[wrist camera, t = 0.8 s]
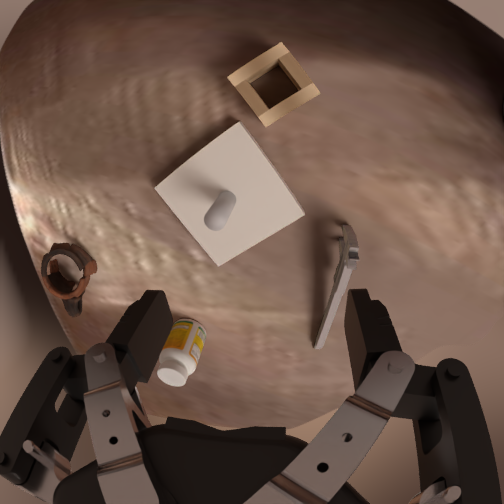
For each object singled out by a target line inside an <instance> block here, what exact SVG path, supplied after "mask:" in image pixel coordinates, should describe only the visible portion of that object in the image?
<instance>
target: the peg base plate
mask: <svg viewBox="0 0 504 504" xmlns="http://www.w3.org/2000/svg"><path fill="white" fill-rule="evenodd" d="M155 190H156V191H157V192H158V193H159V195H160V196H161V197H162V198H163V200H164V201H165V202H166V203H167V205H168V206H169V207H170V208H171V210H172V211H173V212H174V213H175V215H176V216H177V217H178V218H179V220H180V221H181V222H182V223H183V225H184V226H185V227H186V228H187V229H188V231H189V232H190V233H191V234H192V236H193V237H194V238H195V239H196V240H197V242H198V243H199V244H200V245H201V246H202V248H203V249H204V250H205V251H206V252H207V254H208V255H209V256H210V257H211V258H212V260H213V261H214V262H215V263H216V264H217V266H218V267H219V266H220V265H222V264H224V263H225V262H227V261H229V260H230V259H232V258H234V257H235V256H237V255H239V254H240V253H242V252H244V251H245V250H247V249H249V248H250V247H252V246H254V245H255V244H257V243H259V242H260V241H262V240H264V239H265V238H267V237H269V236H270V235H272V234H274V233H275V232H277V231H279V230H280V229H282V228H284V227H286V226H287V225H289V224H291V223H292V222H294V221H296V220H297V219H299V218H301V217H302V216H304V215H305V212H304V209H303V208H302V206H301V205H300V203H299V202H298V200H297V199H296V197H295V196H294V194H293V193H292V191H291V190H290V188H289V187H288V185H287V184H286V183H285V181H284V180H283V178H282V177H281V175H280V174H279V172H278V171H277V170H276V168H275V167H274V165H273V164H272V163H271V161H270V160H269V158H268V157H267V156H266V154H265V153H264V151H263V150H262V149H261V147H260V146H259V145H258V143H257V142H256V140H255V139H254V138H253V136H252V135H251V134H250V132H249V131H248V130H247V128H246V127H245V126H244V124H243V123H242V122H241V121H239V122H238V123H236V124H235V125H233V126H232V127H231V128H229V129H228V130H226V131H225V132H224V133H222V134H221V135H220V136H218V137H217V138H216V139H214V140H213V141H212V142H210V143H209V144H208V145H206V146H205V147H204V148H202V149H201V150H200V151H199V152H197V153H196V154H195V155H193V156H192V157H191V158H190V159H188V160H187V161H186V162H185V163H184V164H182V165H181V166H180V167H179V168H177V169H176V170H175V171H174V172H173V173H171V174H170V175H169V176H168V177H167V178H165V179H164V180H163V181H162V182H161V183H160V184H158V185H157V186H156V187H155Z"/></svg>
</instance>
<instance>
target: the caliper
mask: <svg viewBox="0 0 504 504" xmlns="http://www.w3.org/2000/svg"><path fill="white" fill-rule="evenodd" d="M342 232H343V237H344V238H343V237H339V252H340V262H339V264H338V266H337V268H336V273H335V275H334V285H333V289H332V292H331V295H330V298H329V302H328V305H327V308H326V311H325V314H324V317H323V320H322V323H321V326H320V329H319V331H318V334H317V338H316V342H315V346H314V349H321V348H322V347H323V345H324V342H325V340H326V337H327V335H328V332H329V330H330V327H331V324H332V322H333V319H334V317H335V314H336V311H337V308H338V306H339V303H340V300H341V297H342V294H343V295H344V292H345V290H346V287H347V284H348V281H349V278H350V275H351V272H352V269H356V261H359V257H358V249H359V246H358V242H357V238H356V234H355V233H354V231H353V229H352V227H351V225H342Z"/></svg>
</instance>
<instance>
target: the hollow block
mask: <svg viewBox="0 0 504 504" xmlns="http://www.w3.org/2000/svg"><path fill="white" fill-rule="evenodd" d="M278 65H279V66H280V67H281V68H282V70H283V71H284V72H285V74H286V75H287V76H288V77H289V79H290V80H291V81H292V83H293V84H294V85H295V87H296V88H297V89H298V92H296V93H295V94H293V95H292V96H290V97H288V98H287V99H285V100H283V101H282V102H280V103H279V104H277V105H276V106H274V107H272V108H271V109H269V107H268V106H267V105H266V103H265V102H264V101H263V99H262V98H261V97H260V95H259V94H258V93H257V91H256V90H255V89H254V88H253V86H252V85H251V84H250V83H252V82H253V81H255V80H256V79H258V78H259V77H261V76H263V75H264V74H266V73H267V72H269V71H270V70H272V69H274V68H275V67H277V66H278ZM227 78H228V79H229V80H230V82H231V83H232V84H233V85H234V87H235V88H236V89H237V90H238V92H239V93H240V94H241V95H242V97H243V98H244V99H245V101H246V102H247V103H248V105H249V106H250V107H251V108H252V110H253V111H254V112H255V114H256V115H257V116H258V118H259V119H260V120H261V122H262V123H263V124H264V126H265V127H267V126H269V125H270V124H272V123H273V122H275V121H276V120H278V119H279V118H281V117H283V116H284V115H286V114H287V113H289V112H291V111H292V110H294V109H295V108H297V107H299V106H300V105H302V104H304V103H305V102H307V101H309V100H310V99H312V98H314V97H315V96H317V95H319V94H320V92H319V90H318V89H317V88H316V86H315V85H314V83H313V82H312V81H311V79H310V78H309V77H308V75H307V74H306V73H305V71H304V70H303V69H302V67H301V66H300V65H299V63H298V62H297V61H296V59H295V58H294V57H293V56H292V54H291V53H290V52H289V51H288V50H287V48H286V47H285V46H284V45H283V43H282V42H281V43H279V44H278V45H276V46H274V47H273V48H271V49H269V50H268V51H266V52H264V53H263V54H261V55H259V56H258V57H256V58H255V59H253V60H252V61H250V62H249V63H247V64H246V65H244V66H243V67H241V68H240V69H238V70H237V71H235V72H234V73H232V74H231V75H229V76H228V77H227Z"/></svg>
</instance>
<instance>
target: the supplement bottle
mask: <svg viewBox="0 0 504 504" xmlns="http://www.w3.org/2000/svg"><path fill="white" fill-rule="evenodd" d="M205 339H206V331H205V329H204V327H203V326H202V325H201V324H200V323H198V322H197V321H194V320H192V319H179V320H177V321H176V322H175V323H174V325H173V327H172V330H171V332H170V334H169V336H168V338H167V341H166V343H165V345H164V347H163V349H162V351H161V354H160V356H159V361H160V366H159V369H158V371H157V374H158V377H159V378H160V379H161V380H162V381H163V382H165V383H166V384H169V385H172V386H182V385H184V384H185V383H186V380H187V378H188V375H190V374H192V373H193V372H194V371H195V369H196V366H197V363H198V360H199V357H200V354H201V351H202V348H203V345H204V342H205Z"/></svg>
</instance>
